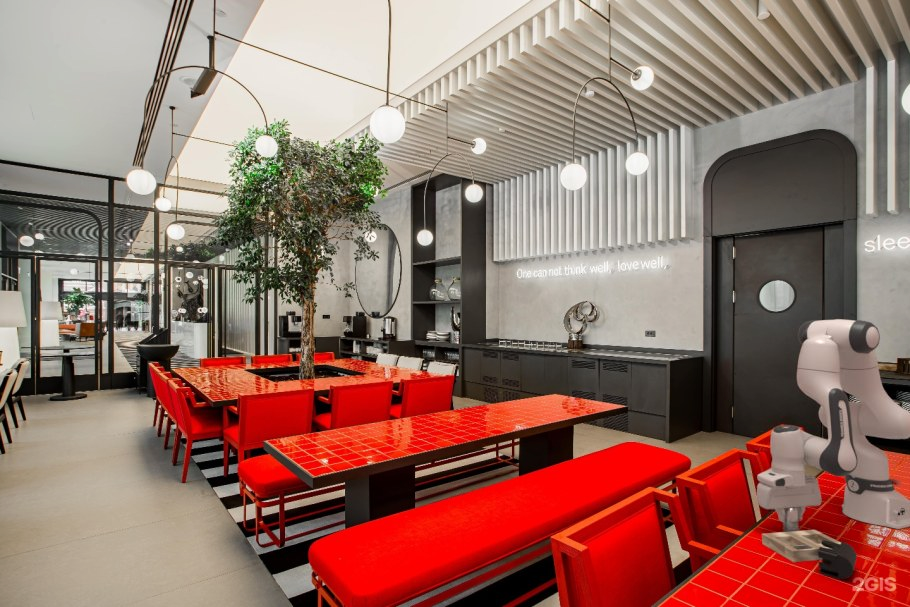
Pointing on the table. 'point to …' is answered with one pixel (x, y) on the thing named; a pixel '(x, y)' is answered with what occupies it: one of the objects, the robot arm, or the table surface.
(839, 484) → the table surface
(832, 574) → the end cap
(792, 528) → the metal pin
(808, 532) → the beige rectangular frame
